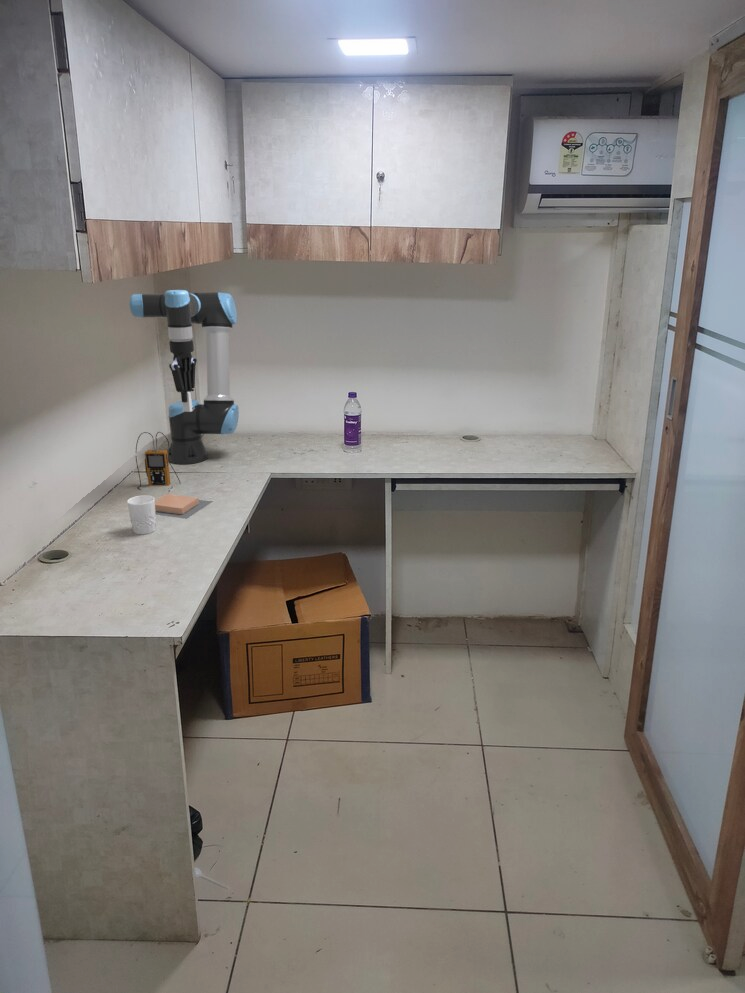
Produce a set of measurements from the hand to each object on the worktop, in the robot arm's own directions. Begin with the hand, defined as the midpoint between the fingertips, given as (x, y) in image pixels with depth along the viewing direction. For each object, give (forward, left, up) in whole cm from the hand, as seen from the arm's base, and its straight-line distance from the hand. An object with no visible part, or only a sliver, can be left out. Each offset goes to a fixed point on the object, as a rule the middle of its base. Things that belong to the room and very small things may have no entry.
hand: (187, 411), depth 239 cm
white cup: (+34, +3, -30) cm, 45 cm away
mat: (+15, +2, -29) cm, 33 cm away
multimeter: (+1, -15, -30) cm, 33 cm away
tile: (+11, +2, -27) cm, 29 cm away
